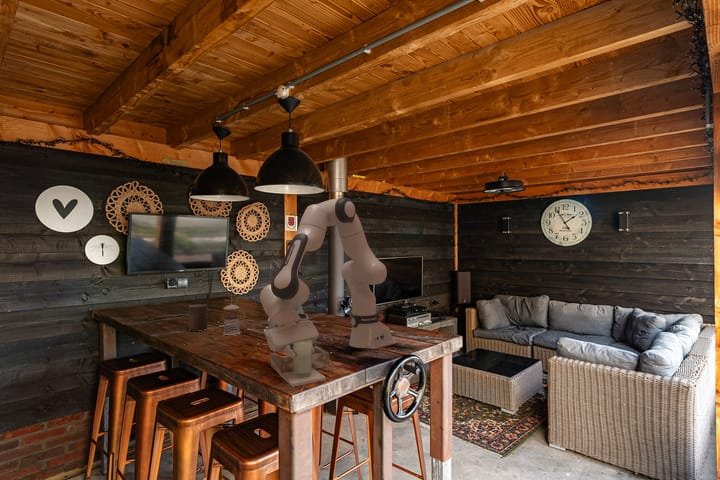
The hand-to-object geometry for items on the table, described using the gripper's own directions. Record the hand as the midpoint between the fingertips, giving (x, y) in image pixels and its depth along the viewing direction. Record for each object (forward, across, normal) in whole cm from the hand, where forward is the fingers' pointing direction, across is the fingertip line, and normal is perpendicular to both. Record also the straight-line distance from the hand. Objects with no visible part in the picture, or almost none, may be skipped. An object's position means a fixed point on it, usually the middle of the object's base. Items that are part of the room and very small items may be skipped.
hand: (303, 354), depth 134 cm
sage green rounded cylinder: (+4, 0, +4) cm, 6 cm away
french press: (-52, +22, +64) cm, 85 cm away
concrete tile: (+5, 0, +6) cm, 8 cm away
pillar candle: (-69, +14, +81) cm, 107 cm away
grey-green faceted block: (-32, +35, +44) cm, 65 cm away
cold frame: (-2, +8, +14) cm, 16 cm away
